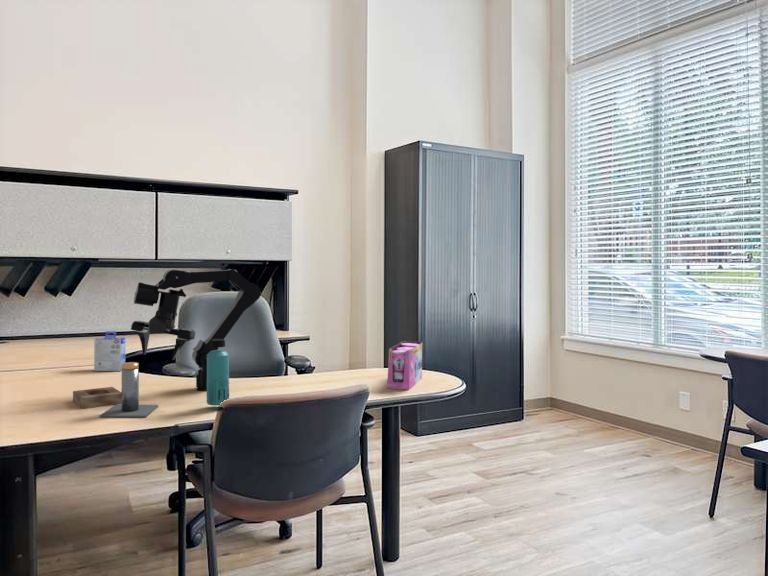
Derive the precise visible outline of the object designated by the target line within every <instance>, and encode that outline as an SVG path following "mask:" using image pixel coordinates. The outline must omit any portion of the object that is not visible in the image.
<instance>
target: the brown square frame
mask: <svg viewBox="0 0 768 576" xmlns="http://www.w3.org/2000/svg"><path fill="white" fill-rule="evenodd" d="M72 402H74V403H75V404H76V405H77V406H78V405H79V407H80V408H81V409H82V408H83V409H89V408H98V407H107V406H112V405H113V406H114V405H122V391H120V390H118V389H116V388H115V387H113V386H108V387H106V386H105V387H100V388H99V387H98V388H89V389H88V388H87V389H81V390H80V389H79V390H73V391H72Z"/></svg>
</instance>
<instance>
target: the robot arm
mask: <svg viewBox="0 0 768 576" xmlns="http://www.w3.org/2000/svg"><path fill="white" fill-rule="evenodd" d="M216 282H217V283H218V282H219V283H220V282H229V283H230V284H231V285H232V286H233V287H234V288H235V289H236V290H237V291H238V292H237V293H236V297H235V300H234V303H233V304H232V305H231V307H230V308H229V310H228V312H227V313H226V314H225V315H224V317H223V318H222V319H221V320H220V322H219V323H218V325H217V326H216V328H215V329H214V330H213V331H212V333H211V334H210V335H209V337H208V338H207V339H205V340H204V341H203V340H202V339H199V340H198V342H197V343H196V346H195V347H194V348H192V353H191V358H192V361H193V363H195V365H197V366H198V368H199V369H198V370H197V374H196V375H195V378H196V379H195V382H196V383H195V384H196V386H195V387H196V391H207V390H206V389H207V354H208V353H209V352H210V351H213V350H219V348H220V347H210V345H211V340H212V339H224V340H225V338H226V337H227V335H228V334H229V333H230V331H231V330H232V329H233V327H234V326H235V325H236V323H238V321H239V319H240V318H241V316H242V315H244V312H245V311H246V310H247V309H249V308H250V307H252V306H253V305H254V304H255V303H256V302H257V301H258V300H259V299H260V298H261V295H262V291H261V287H259V285H257V284H255V283H252V282H250V281H249V280H248V279H246V278H245V277H244V276H242V274H240V272H239V271H237V269H233V268H228V269H221V270H203V271H202V270H201V271H190V270H189V271H188V270H179V269H168V270H166V271H165V272H164V273H163V275H162V279H161V280H160V281H158V282H157V283H156V284H155V285H153V284H148V283H143V282H141V281H140V282H138V284H137V286H136V290H135V292H134V296H133V304H134V305H140V306H141V305H142V306H147V307H148V306H149V307H153V306H154V305H157V304H158V307H157V310H156V312H155V315H154V316H153V317H152V318H151V319H149V321H144V320H134V321H133V322H132V323H131V327H130V330H131V331H134V333H135V334H137V336H138V337H139V339H140V345H141V349H142V354H143V355H146V354H147V350H148V346H149V341H150V333H153V332H155V333H158V334H167V335H172V336H177V337H178V338H175V344H174V348H173V352H172V356H171V359H172V360H173V361H174V360H175V359H176V357H177V355H178V353H179V352H180V351H181V349H182V348H183V346H184V345H185V344H186V342H190V341H191V340H194V339H196V338H195V336H196V331H195V330H193V329H188V328H178V329H175V328H176V325H175V323H176V317H177V316H178V306H179V301H180V297H183V298H186V297H187V294H186V293H185V291H184V289H183V288H182V287H187V286H189V285H194V284H202V283H205V284H206V283H216ZM171 288H172V289H171ZM177 288H179V289H178V290H176V289H177ZM162 290H164V291H162ZM165 290H168V291H165ZM159 295H160V296H159Z"/></svg>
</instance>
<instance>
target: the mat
mask: <svg viewBox="0 0 768 576" xmlns="http://www.w3.org/2000/svg"><path fill="white" fill-rule="evenodd" d="M158 408H159V404H139V410H137V411H133V412H123V411H122V404H115V405H113V406H112V407H110V408H108V409H107V410H106V411H104V412H103V413H101V414H100V415H99V419H100V418H101V419H103V418H104V419H105V418H106V419H107V418H109V419H110V418H111V419H117V418H118V419H120V418H121V419H122V418H123V419H125V418H126V419H127V418H128V419H129V418H130V419H133V418H134V419H135V418H136V419H138V418H139V419H144V418H145V419H146V418H147V417H148V416H150V415H151V414H152V413H153V412H154V411H155V410H157V409H158Z"/></svg>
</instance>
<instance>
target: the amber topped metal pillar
mask: <svg viewBox="0 0 768 576" xmlns="http://www.w3.org/2000/svg"><path fill="white" fill-rule="evenodd" d="M139 366H140V364H139V362H135V361H129V362H125V363H122V370H121V392H122V404H121V405H122V411H123V412H133V411H137V410H139V405H140V403H139V402H140V401H139V399H140V395H139V393H140V392H139V387H140V386H139V385H140V384H139V383H140V380H139V379H140V376H139V373H140V372H139V371H140V369H139Z"/></svg>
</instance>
